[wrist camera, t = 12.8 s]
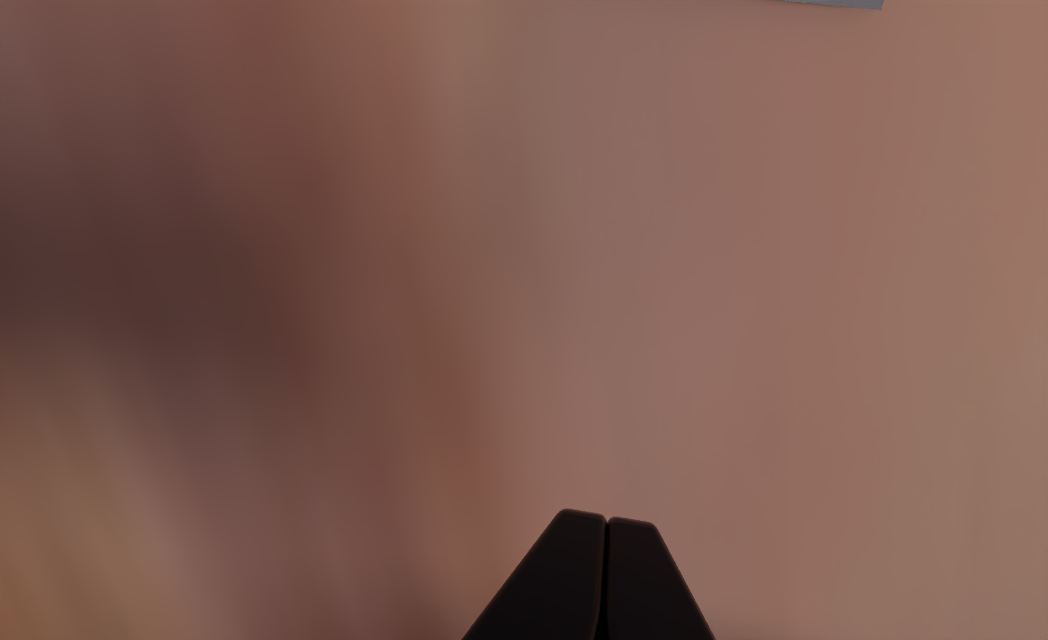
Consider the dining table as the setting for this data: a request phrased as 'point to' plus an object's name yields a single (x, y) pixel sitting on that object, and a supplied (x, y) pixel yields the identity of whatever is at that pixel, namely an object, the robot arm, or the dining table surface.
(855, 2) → the hitch plate
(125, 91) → the dining table surface
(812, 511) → the dining table surface
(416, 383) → the dining table surface
